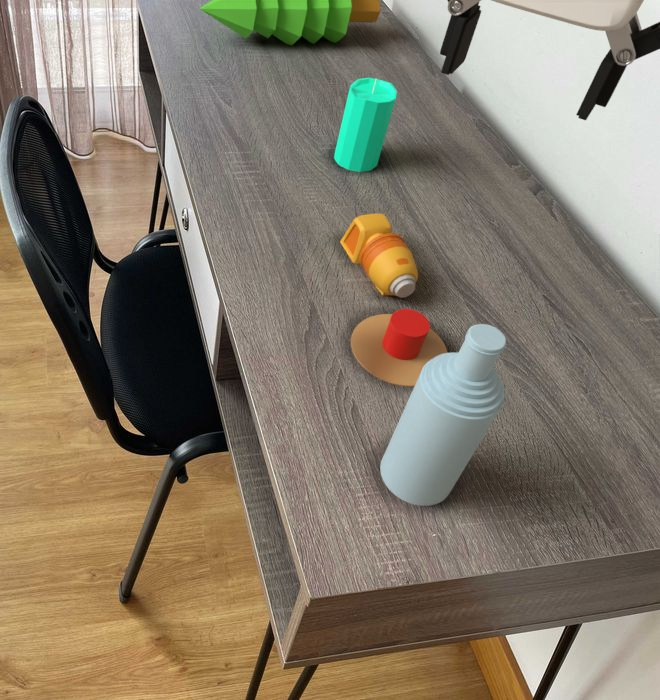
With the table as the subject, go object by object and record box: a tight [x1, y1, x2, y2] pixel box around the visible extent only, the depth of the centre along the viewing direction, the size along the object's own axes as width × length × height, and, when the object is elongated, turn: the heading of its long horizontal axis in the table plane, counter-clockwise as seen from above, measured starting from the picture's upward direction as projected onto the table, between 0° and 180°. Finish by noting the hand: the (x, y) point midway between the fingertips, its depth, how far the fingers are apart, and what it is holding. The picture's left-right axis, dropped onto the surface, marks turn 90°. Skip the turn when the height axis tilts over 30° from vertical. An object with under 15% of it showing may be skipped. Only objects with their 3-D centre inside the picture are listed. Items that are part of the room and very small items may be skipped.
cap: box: [382, 308, 431, 360], centre depth 75 cm, size 4×4×4 cm
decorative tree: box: [198, 0, 381, 46], centre depth 118 cm, size 11×12×30 cm
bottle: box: [379, 323, 507, 507], centre depth 59 cm, size 6×6×18 cm
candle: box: [333, 77, 398, 173], centre depth 95 cm, size 6×6×12 cm
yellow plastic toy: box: [339, 212, 419, 298], centre depth 82 cm, size 5×6×12 cm
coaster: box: [350, 313, 449, 388], centre depth 76 cm, size 10×10×1 cm
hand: (516, 88), depth 52 cm, fingers open, 9 cm apart
